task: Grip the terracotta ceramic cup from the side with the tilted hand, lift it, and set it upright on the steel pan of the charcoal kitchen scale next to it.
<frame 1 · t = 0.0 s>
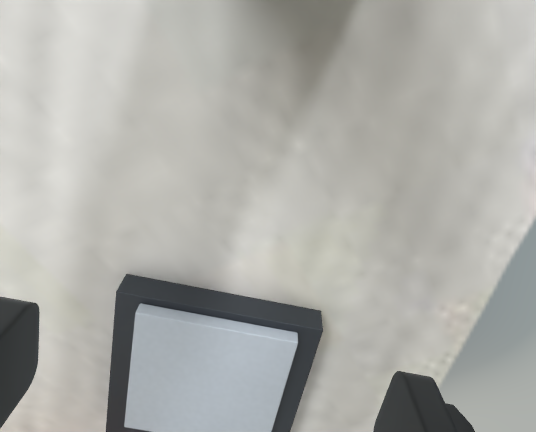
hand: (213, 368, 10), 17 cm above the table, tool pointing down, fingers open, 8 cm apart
scale: (210, 365, 33), on the table
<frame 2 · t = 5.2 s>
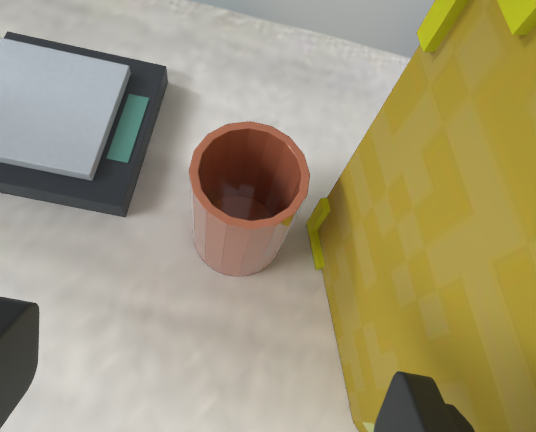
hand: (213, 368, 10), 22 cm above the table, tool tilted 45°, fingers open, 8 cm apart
cup: (237, 233, 35), on the table
scale: (67, 128, 37), on the table
book: (370, 325, 34), on the table
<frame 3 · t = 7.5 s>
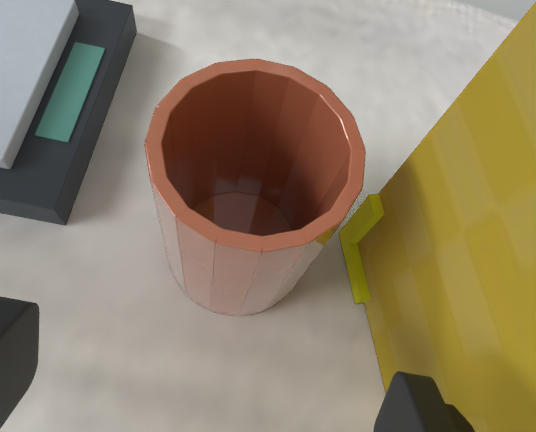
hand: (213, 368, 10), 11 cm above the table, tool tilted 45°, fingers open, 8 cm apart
cup: (236, 249, 23), on the table
book: (441, 389, 22), on the table
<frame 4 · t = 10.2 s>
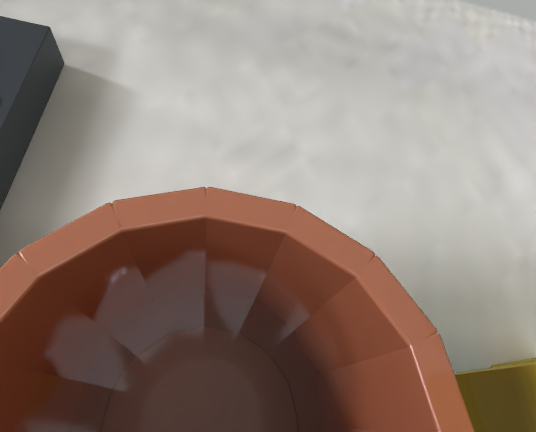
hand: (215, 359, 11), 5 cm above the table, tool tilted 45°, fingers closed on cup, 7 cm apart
cup: (202, 424, 14), on the table, touching gripper
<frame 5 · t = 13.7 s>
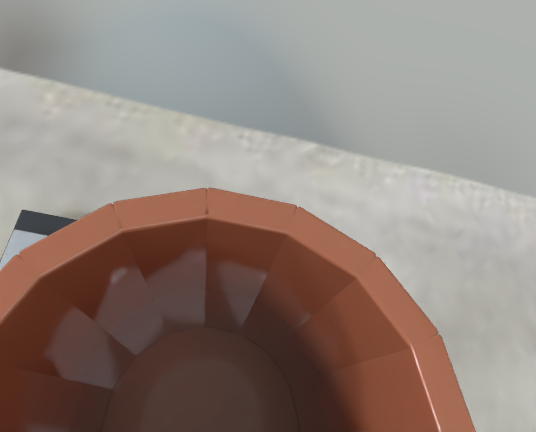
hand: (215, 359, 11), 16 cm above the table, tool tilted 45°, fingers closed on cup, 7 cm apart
cup: (202, 425, 14), point 11 cm above the table, touching gripper
scale: (108, 351, 25), on the table
when the fingers open (8 cm above the table, at t = 17.6 s): cup stays where it is, resting on scale.
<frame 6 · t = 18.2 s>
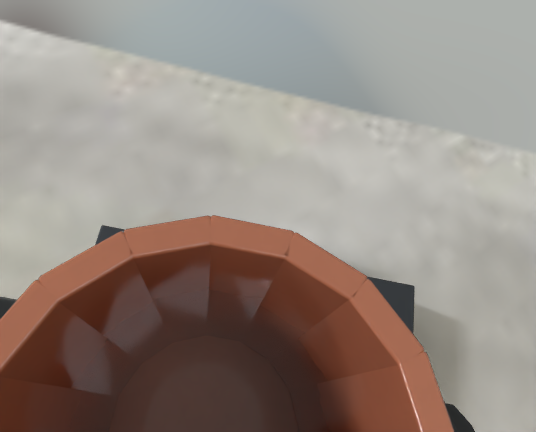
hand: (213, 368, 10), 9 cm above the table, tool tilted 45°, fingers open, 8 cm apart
cup: (205, 430, 15), point 3 cm above the table, touching scale
scale: (228, 427, 18), on the table
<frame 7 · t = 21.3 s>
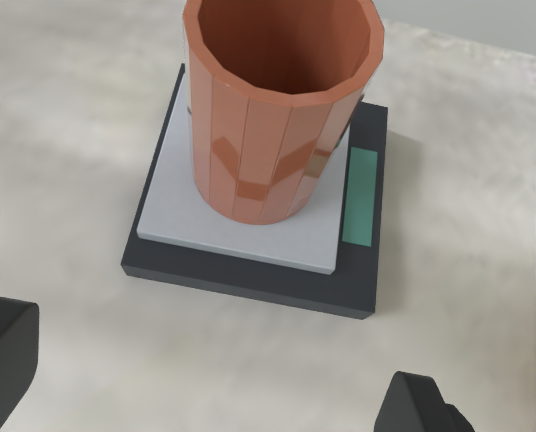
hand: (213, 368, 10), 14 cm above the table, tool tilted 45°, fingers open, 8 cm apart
cup: (255, 166, 25), point 3 cm above the table, touching scale
scale: (265, 192, 27), on the table
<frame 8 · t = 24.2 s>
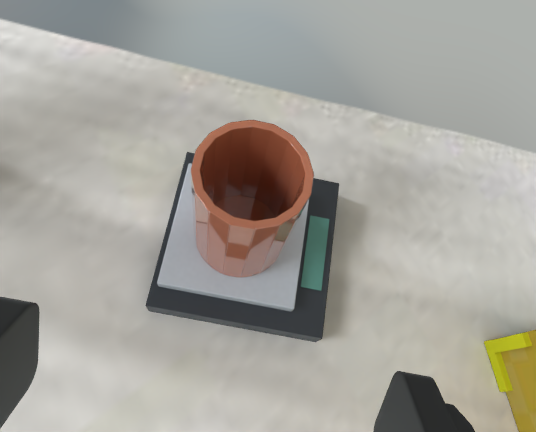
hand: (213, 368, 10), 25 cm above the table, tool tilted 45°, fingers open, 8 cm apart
cup: (240, 234, 35), point 3 cm above the table, touching scale
scale: (248, 247, 38), on the table
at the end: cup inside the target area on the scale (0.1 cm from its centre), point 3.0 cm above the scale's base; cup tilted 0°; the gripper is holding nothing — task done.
